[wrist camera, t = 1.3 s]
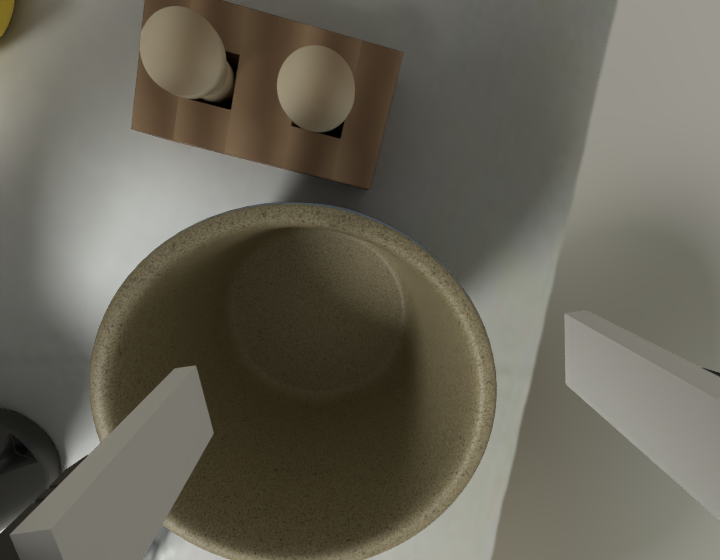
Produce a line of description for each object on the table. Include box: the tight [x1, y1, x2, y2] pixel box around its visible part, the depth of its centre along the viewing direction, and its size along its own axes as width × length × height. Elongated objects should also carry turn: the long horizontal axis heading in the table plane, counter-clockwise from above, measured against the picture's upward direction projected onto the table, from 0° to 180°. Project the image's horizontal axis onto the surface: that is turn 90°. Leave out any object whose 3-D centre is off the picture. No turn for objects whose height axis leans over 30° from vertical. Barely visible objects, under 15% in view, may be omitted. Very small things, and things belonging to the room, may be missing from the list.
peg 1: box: [139, 6, 236, 104], centre depth 31 cm, size 6×6×7 cm
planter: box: [90, 202, 497, 560], centre depth 32 cm, size 23×23×24 cm
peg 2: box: [277, 45, 355, 132], centre depth 32 cm, size 6×6×7 cm
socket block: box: [131, 0, 403, 190], centre depth 36 cm, size 22×12×6 cm, turn 76°
